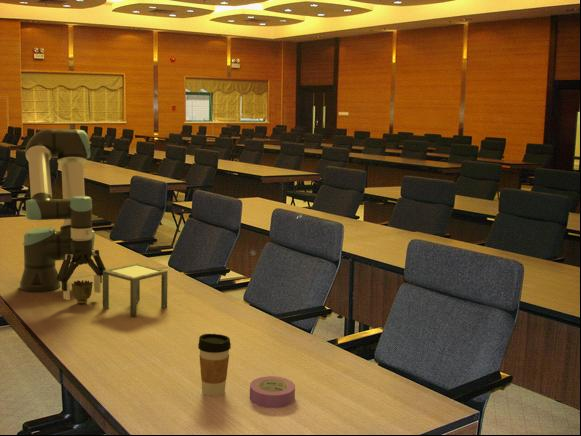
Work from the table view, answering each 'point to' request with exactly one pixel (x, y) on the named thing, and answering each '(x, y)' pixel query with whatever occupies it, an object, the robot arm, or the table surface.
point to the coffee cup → (214, 363)
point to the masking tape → (272, 392)
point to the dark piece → (82, 291)
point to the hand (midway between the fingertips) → (82, 295)
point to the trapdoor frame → (134, 287)
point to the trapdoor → (134, 271)
